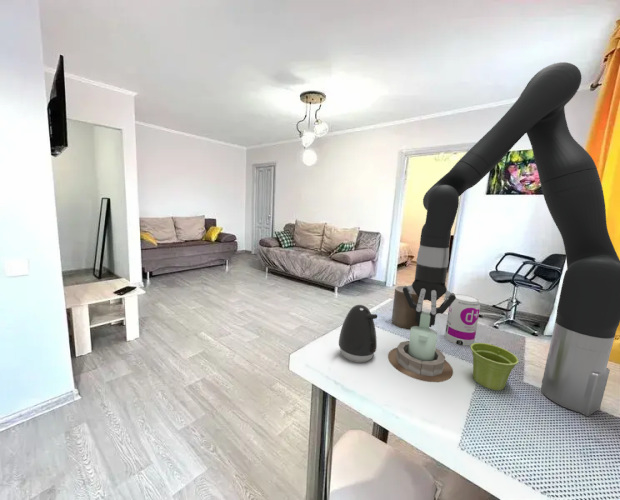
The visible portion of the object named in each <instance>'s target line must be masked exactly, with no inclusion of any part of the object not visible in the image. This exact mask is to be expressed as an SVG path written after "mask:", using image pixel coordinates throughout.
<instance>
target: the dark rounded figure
mask: <svg viewBox="0 0 620 500" xmlns="http://www.w3.org/2000/svg"><path fill="white" fill-rule="evenodd" d="M377 318H378V315H377V314H376V313H375V314H374V313H372V312H371V311H370V309H369V308H368V307H367V306H365V305H363V304H357V305H354V306H352V307H351V308H350V310H349V311H348V312H347V314H346V316H345V318H344V321H343V323H342V325H341V329H340V333H339V337H338V346H339V349H340V353H341V355H342V356H343V357H344V358H345V359H346V360H349V361H351V362H355V363H366V362H368V361H370V360H371V359H372V357H373V356H374V355H375V353H376V351H377V348H378V347H377V346H378V345H377V343H378V341H377V331H376V325H375V321H374V319H377Z"/></svg>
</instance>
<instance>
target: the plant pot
mask: <svg viewBox="0 0 620 500" xmlns="http://www.w3.org/2000/svg"><path fill="white" fill-rule="evenodd" d="M470 350H471V353H472V359H473V360H472V378H473V380H474V381H475V382H476V383H477V384H479V385H480V386H482V387H485V388H488V389H490V390H494V391H502V390H503V389H504V388H505V387H506V384H507V381H508V380H509V377H510V375H511V373H512V371H513V369H515V366H517V365H518V363H519V358H518V357H517V356H516V355H515V354H514V353H512V352H510V351H509V350H507V349H505V348H503V347H500V346H498V345H494V344H490V343H488V342H487V343H486V342H474V343H473V344H472V345H471V346H470Z"/></svg>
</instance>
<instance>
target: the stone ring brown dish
mask: <svg viewBox="0 0 620 500" xmlns="http://www.w3.org/2000/svg"><path fill="white" fill-rule="evenodd" d="M408 348H409V340H406V341H402V342H399V344H398V345H397V347H395V348H392V349H391V350H390V351H389V352H388V354H387V359H388V361H389V363H390V365H392V367H393V368H394V369H396V370H397V371H398V372H400V373H401V374H402V375H403V374H404V375H405V376H407V377H410V378H413V379H414V380H415V379H416V380H418V381H422V382H428V383H443V382H445V381H448V380H450V379H452V377H453V375H454V370H453V366H451V364H450V363H449V362H448V361H447V360H446V356H445V355H444V353H443V352H442V351H441V350H440V349H438V348H437V347H436V349H435V357H434V361H421V360H419V359H416V358H413V357H411V356H410V355H408Z"/></svg>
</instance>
